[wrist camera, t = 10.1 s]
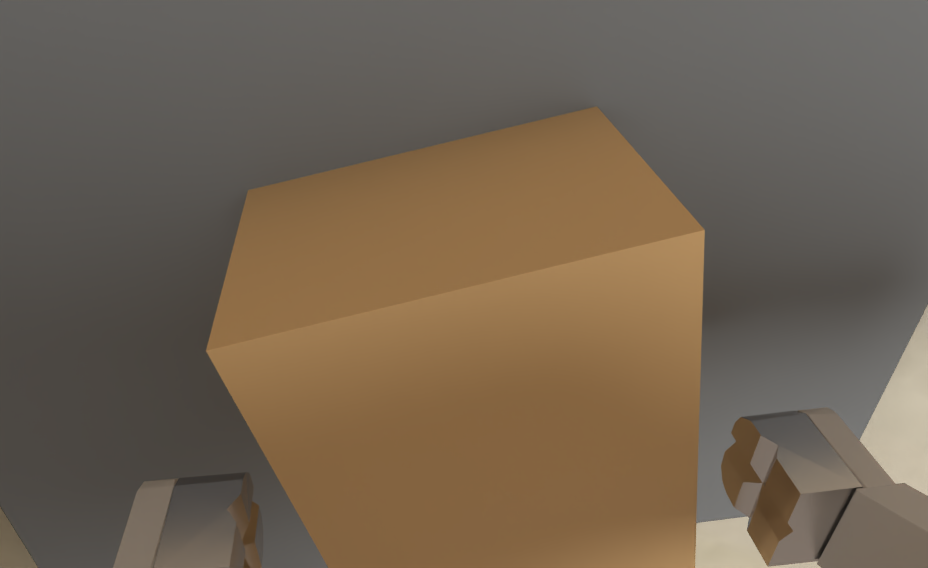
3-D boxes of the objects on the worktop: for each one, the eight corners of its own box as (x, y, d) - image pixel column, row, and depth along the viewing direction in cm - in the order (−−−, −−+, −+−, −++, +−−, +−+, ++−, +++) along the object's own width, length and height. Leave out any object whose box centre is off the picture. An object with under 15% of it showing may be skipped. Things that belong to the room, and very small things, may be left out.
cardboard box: (248, 190, 11) (205, 351, 8) (596, 106, 11) (704, 229, 8) (386, 512, 16) (397, 690, 13) (622, 454, 16) (693, 616, 13)
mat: (68, 580, 17) (60, 604, 16) (-293, -36, 9) (-330, -27, 8) (814, 488, 19) (826, 506, 19) (1072, -59, 11) (1107, -54, 11)
